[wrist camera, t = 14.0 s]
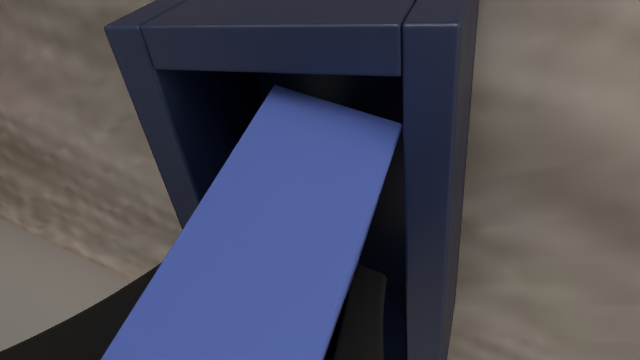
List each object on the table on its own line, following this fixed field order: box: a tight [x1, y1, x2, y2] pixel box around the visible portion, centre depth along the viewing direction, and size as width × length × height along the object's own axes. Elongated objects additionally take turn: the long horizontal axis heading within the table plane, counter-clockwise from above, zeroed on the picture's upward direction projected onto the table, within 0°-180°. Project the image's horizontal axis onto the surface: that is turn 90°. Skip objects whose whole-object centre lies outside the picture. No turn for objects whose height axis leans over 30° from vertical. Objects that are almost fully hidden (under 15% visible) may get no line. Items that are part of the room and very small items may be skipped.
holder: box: [104, 0, 479, 360], centre depth 13 cm, size 7×12×5 cm, turn 7°
